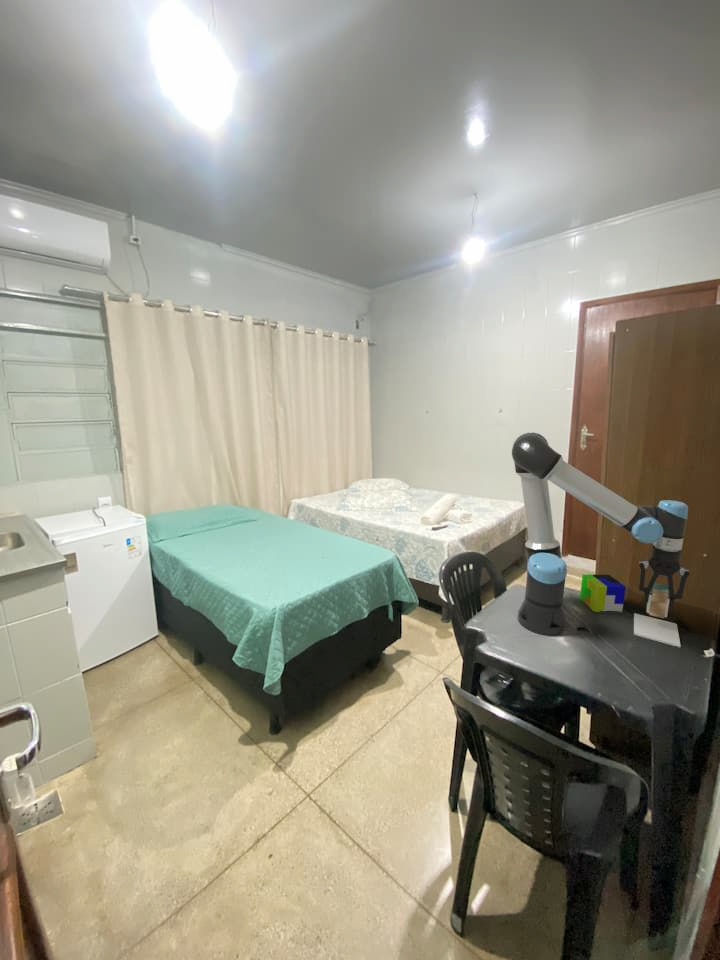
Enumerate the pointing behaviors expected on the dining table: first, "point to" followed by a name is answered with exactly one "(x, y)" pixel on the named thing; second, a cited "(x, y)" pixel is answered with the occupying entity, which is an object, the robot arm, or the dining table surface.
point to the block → (658, 600)
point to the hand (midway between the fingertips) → (656, 613)
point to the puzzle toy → (602, 593)
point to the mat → (656, 630)
